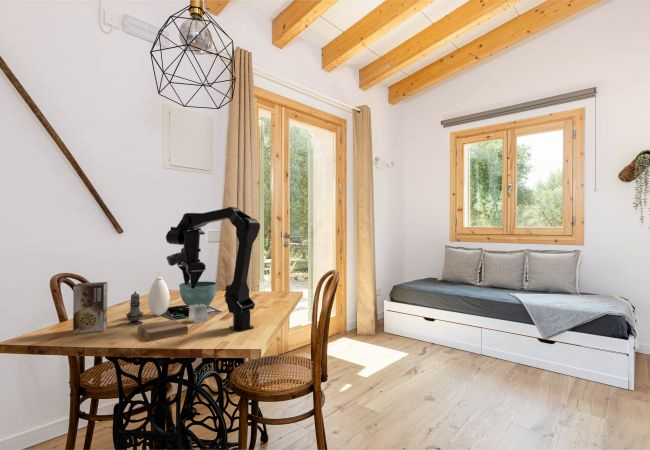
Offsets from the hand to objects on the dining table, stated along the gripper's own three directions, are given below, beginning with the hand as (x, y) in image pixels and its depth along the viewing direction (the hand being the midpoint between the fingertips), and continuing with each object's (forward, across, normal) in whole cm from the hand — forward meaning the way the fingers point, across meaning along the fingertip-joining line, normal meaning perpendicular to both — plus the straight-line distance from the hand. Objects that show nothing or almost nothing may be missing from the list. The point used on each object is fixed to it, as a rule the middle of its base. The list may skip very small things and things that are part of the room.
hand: (189, 286), depth 137 cm
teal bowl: (+14, -22, +10) cm, 28 cm away
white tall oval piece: (+14, -16, -8) cm, 22 cm away
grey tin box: (+13, +2, +3) cm, 14 cm away
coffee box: (+14, -5, -31) cm, 35 cm away
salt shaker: (+14, -7, -17) cm, 23 cm away
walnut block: (+14, +12, -11) cm, 21 cm away
